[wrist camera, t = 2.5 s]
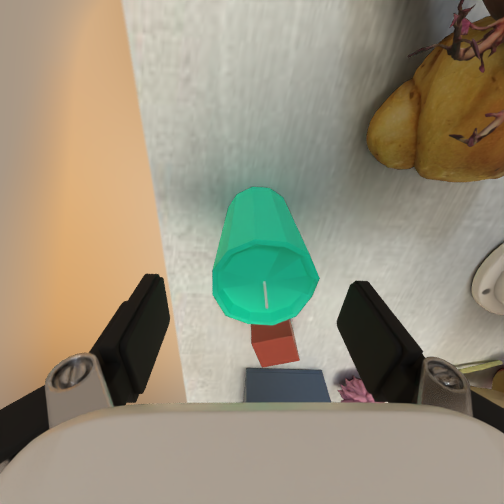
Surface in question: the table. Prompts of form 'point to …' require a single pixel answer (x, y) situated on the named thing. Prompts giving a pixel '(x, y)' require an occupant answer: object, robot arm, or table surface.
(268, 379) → the bin
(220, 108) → the table surface
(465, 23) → the vegetable
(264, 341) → the red block
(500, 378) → the decorative mushroom
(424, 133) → the yellow lumpy rounded piece
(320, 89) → the table surface
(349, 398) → the artificial flower
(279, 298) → the candle
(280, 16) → the table surface
